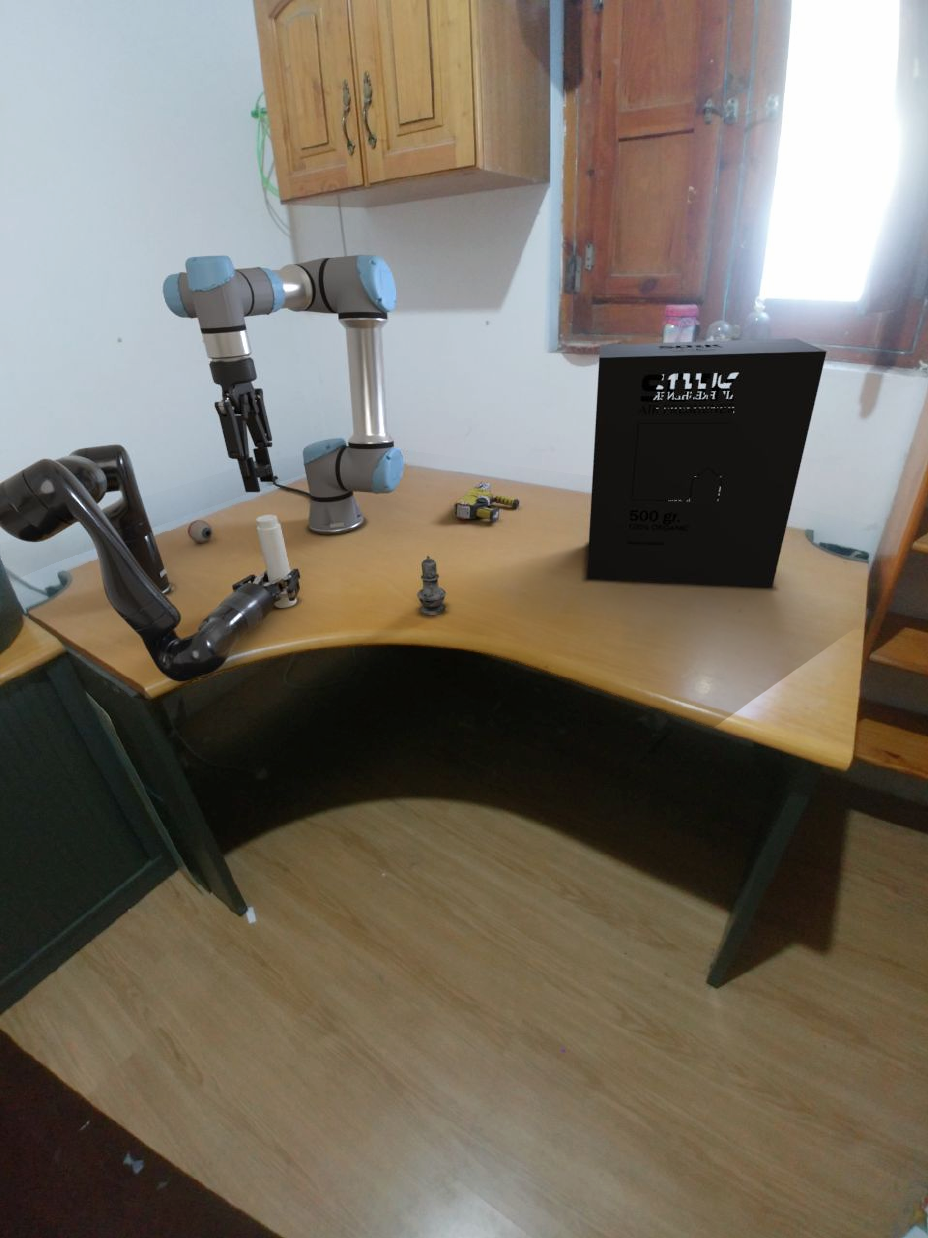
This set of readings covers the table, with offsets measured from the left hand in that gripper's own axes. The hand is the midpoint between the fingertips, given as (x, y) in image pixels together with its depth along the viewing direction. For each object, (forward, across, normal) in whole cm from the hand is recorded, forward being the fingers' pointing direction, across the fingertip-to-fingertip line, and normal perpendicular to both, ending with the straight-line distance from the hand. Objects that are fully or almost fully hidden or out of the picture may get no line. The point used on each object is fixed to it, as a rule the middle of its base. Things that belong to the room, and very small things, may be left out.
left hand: (285, 571), depth 129 cm
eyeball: (+26, +40, +6) cm, 48 cm away
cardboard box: (+27, -82, +6) cm, 86 cm away
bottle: (-3, 0, +6) cm, 7 cm away
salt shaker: (-1, -33, +6) cm, 33 cm away
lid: (-2, 0, -24) cm, 24 cm away
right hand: (-2, 0, -20) cm, 20 cm away
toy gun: (+58, -34, +6) cm, 68 cm away
